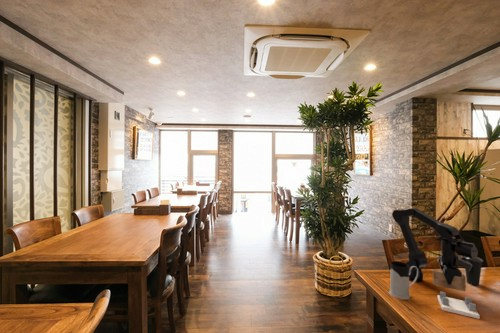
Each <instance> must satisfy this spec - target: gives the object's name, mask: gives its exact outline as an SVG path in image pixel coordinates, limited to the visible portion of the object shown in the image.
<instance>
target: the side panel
mask: <svg viewBox="0 0 500 333" xmlns="http://www.w3.org/2000/svg"><path fill="white" fill-rule="evenodd" d="M437 300H438V303H439V305H440V307H441V310H442V311H445V312H449V313H453V314H458V315H461V316H466V317H470V318H474V319H478V320H480V314H479V312H478V310H477V305H476V303H473V299H472V298H471V297H468V296H465V297H464V300H461V299H458V298H454V297H448V296H447V293H446V292H444V291H439V294H437Z"/></svg>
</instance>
